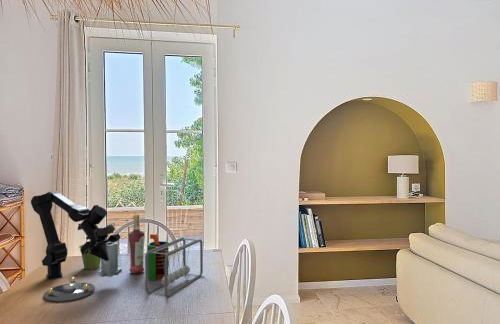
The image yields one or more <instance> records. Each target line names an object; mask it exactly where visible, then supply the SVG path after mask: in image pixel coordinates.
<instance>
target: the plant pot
mask: <svg viewBox="0 0 500 324" xmlns="http://www.w3.org/2000/svg"><path fill="white" fill-rule="evenodd" d="M83 245H84V244H81V245H79V246H78V248H79V249H81V247H82V246H83ZM88 250H89V252H88V254H85V255H82V254H81V256H82V263H83V267H84V270H90V271H91V270H96V269H98V268H101V258H99V257H97V256H95V255H92V254H89V253H90V252H91V251H90V249H88Z"/></svg>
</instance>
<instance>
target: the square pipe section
mask: <svg viewBox="0 0 500 324" xmlns="http://www.w3.org/2000/svg"><path fill="white" fill-rule="evenodd" d="M118 246H119V244H118V242H116V243H113V242H107V243H104V244H102V250H103V251H104V253H105V254H106V256H107V258H108V261H105V260H103V259H101V261H100V269H99V270H97V271H96V275H97V276H100V277H101V278H102V277H103V278H104V277H108V278H111V277H113V276H118V275H120V274H121V273H123V272H122V269H123V268H121V267H119V252H118V251H119V250H118V249H119V247H118Z"/></svg>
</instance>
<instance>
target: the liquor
mask: <svg viewBox="0 0 500 324" xmlns="http://www.w3.org/2000/svg"><path fill="white" fill-rule="evenodd" d="M128 246H129V247H128V248H129V263H130V269H129V272H130V274H133V275H140V274H142V273H143V272H144V271H145V268H144V257H145V256H144V255H145V253H144V251H145V233H144V232H143V231H142V230H140V214H138V213H137V214H133V229H132V231H130V232H129V233H128Z"/></svg>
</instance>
